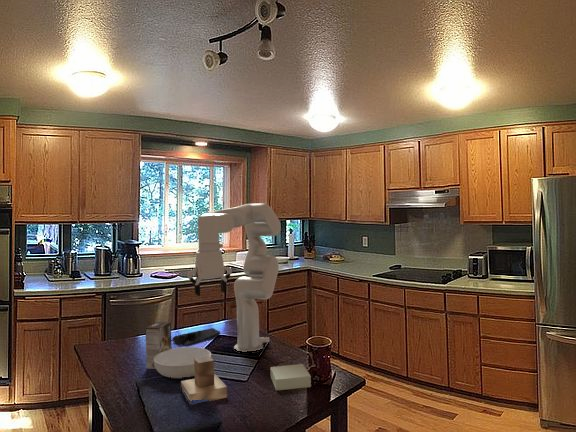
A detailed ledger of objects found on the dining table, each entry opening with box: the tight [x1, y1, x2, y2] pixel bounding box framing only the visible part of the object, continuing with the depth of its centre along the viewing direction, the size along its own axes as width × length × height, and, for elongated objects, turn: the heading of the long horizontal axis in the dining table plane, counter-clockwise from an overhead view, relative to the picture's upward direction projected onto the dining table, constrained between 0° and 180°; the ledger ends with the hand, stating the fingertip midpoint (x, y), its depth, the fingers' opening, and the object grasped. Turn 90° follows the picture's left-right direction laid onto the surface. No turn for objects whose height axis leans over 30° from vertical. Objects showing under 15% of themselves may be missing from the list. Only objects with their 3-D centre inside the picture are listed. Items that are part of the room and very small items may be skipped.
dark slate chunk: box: [171, 327, 221, 347], centre depth 200 cm, size 15×22×5 cm
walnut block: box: [194, 356, 215, 388], centre depth 137 cm, size 5×5×8 cm
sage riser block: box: [270, 363, 312, 391], centre depth 146 cm, size 12×12×4 cm
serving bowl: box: [153, 346, 212, 379], centre depth 155 cm, size 21×21×7 cm
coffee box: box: [144, 321, 173, 370], centre depth 165 cm, size 9×6×16 cm
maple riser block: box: [180, 373, 228, 402], centre depth 137 cm, size 12×12×4 cm
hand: (210, 293), depth 155 cm, fingers open, 9 cm apart
